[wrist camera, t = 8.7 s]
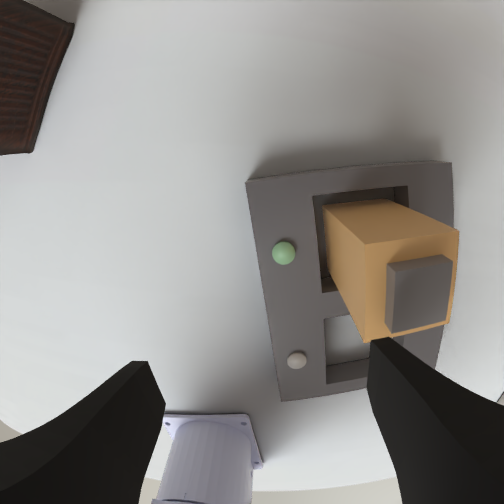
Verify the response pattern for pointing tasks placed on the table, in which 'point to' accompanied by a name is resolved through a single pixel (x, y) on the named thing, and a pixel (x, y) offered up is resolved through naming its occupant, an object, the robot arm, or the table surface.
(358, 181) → the socket block
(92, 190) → the table surface
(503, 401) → the flask
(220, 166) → the table surface
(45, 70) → the manual coffee grinder
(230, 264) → the table surface
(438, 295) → the plug
